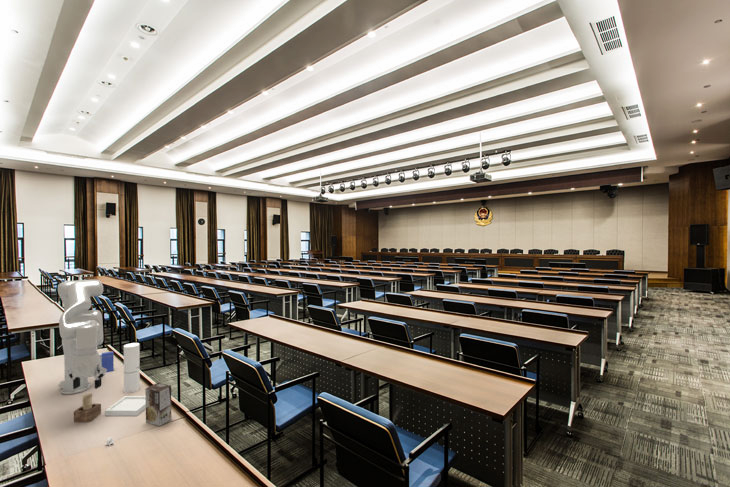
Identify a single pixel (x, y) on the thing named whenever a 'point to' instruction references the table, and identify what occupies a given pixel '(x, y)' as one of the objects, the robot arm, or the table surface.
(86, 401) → the dowel
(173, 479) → the table surface
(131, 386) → the cylindrical container
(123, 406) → the tray
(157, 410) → the coffee box
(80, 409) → the square wooden box
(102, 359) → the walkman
